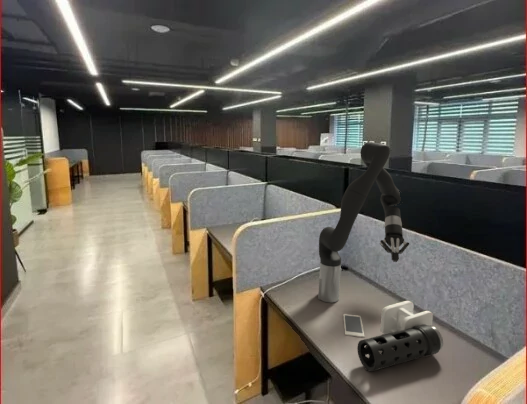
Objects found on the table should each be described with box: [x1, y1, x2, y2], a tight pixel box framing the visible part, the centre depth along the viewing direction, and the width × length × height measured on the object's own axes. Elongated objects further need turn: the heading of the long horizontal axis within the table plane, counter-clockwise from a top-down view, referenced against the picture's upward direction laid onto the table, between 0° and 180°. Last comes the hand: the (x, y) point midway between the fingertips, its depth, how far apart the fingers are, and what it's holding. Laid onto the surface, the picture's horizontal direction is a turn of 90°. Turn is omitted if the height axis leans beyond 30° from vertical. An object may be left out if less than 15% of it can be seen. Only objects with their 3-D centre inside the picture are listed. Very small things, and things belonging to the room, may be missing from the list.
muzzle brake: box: [356, 324, 444, 372], centre depth 102 cm, size 10×28×10 cm, turn 110°
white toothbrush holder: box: [379, 300, 434, 335], centre depth 114 cm, size 15×11×12 cm
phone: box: [342, 313, 365, 338], centre depth 122 cm, size 7×14×1 cm, turn 168°
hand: (395, 261), depth 137 cm, fingers closed
